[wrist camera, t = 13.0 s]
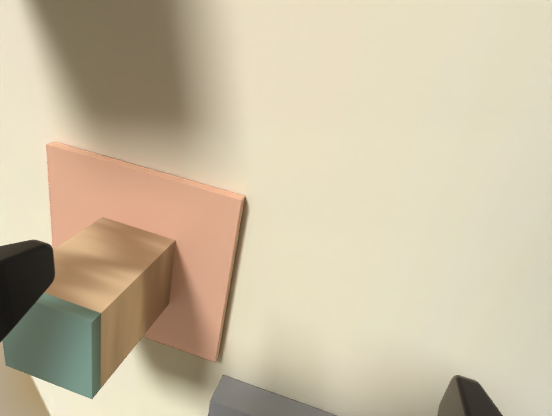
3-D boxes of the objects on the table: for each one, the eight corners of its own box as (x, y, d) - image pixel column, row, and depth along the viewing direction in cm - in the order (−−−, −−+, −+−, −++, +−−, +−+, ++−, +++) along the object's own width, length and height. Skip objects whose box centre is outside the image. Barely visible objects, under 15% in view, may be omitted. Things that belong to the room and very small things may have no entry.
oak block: (175, 240, 23) (91, 322, 16) (169, 303, 25) (92, 399, 18) (102, 216, 23) (-5, 287, 17) (102, 280, 25) (5, 365, 19)
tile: (245, 196, 21) (241, 200, 21) (218, 355, 26) (214, 362, 25) (54, 141, 23) (46, 144, 22) (62, 300, 28) (56, 306, 27)
